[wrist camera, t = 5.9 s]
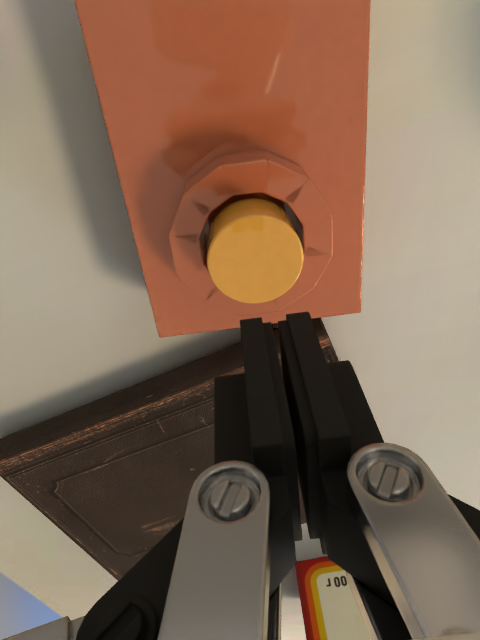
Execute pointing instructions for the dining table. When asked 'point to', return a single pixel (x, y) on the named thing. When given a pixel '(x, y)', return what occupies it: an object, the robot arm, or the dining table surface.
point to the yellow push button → (253, 251)
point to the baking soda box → (328, 602)
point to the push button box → (236, 140)
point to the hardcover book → (127, 458)
